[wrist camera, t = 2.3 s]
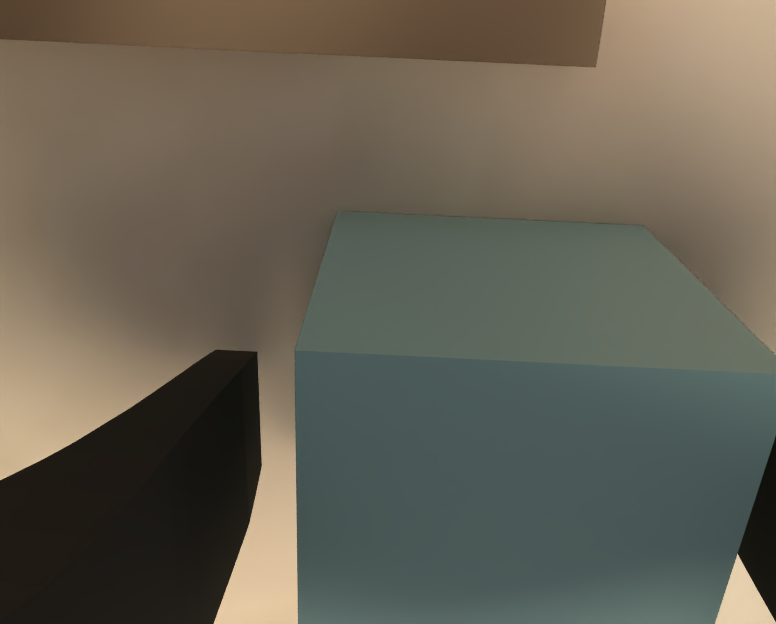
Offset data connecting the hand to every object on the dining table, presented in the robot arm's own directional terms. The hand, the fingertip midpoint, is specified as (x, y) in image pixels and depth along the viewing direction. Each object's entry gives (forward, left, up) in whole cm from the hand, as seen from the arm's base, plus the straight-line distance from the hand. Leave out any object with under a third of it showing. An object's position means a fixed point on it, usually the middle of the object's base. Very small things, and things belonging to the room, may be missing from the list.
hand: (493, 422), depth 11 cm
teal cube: (0, 0, -2) cm, 2 cm away
